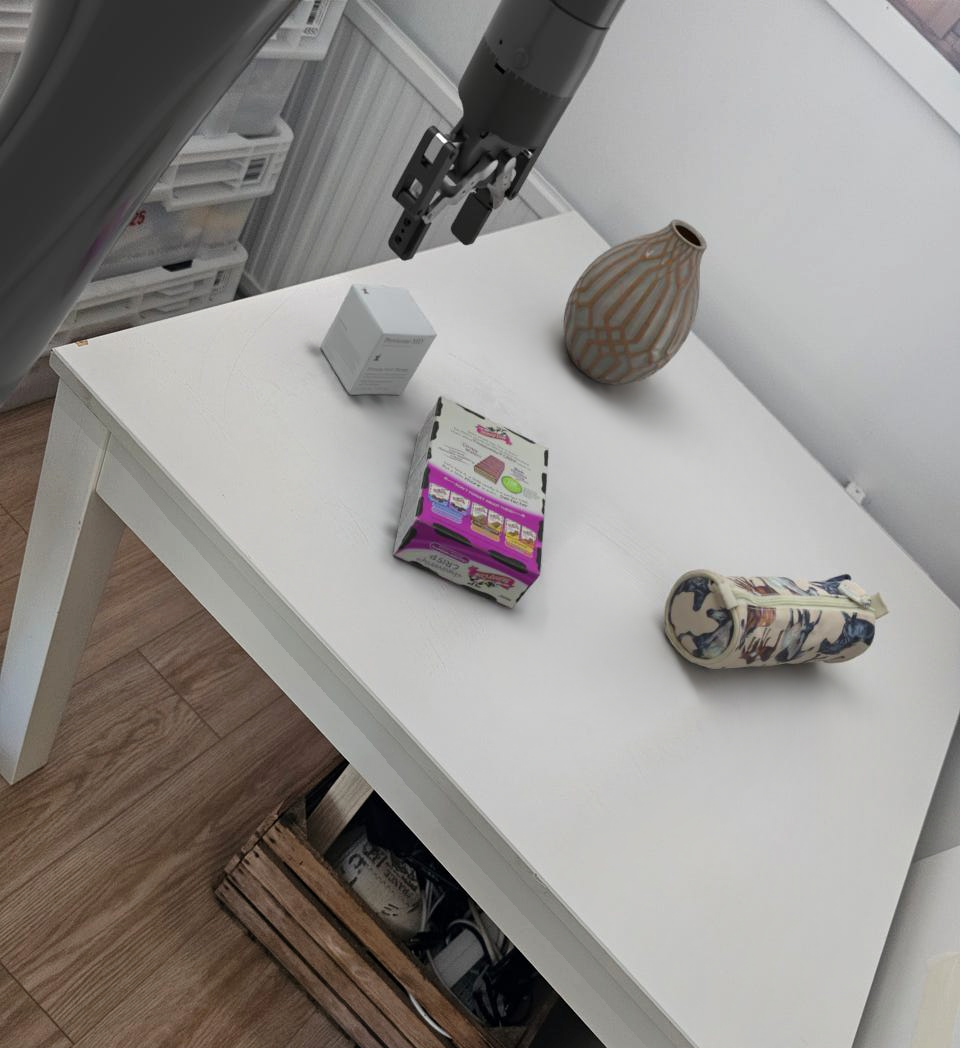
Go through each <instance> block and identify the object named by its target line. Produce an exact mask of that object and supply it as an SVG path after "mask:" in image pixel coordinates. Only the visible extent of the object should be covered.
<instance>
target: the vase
mask: <svg viewBox="0 0 960 1048" xmlns="http://www.w3.org/2000/svg"><path fill="white" fill-rule="evenodd" d="M707 249H708V244H707V241H706V239H705V238H704V236H703V235H702V233H700V231H698V230H697V229H696V228H695V227H694V226H693V225H691V224H689V223H688V222H686V221H684V220H682V219H677V218H675V219H672V220H671V221H670V222H669V223H668V224H667V225H666V226H665V227H663V228H660V229H658V230H657V231H654V232H650V233H647V234H643V235H639V236H637V237H633V238H630V239H627V240H625V241H622V242H620V243H618V244H616V245H614V246H612V247H610V248H609V249H607V250H606V251H604V252H603V253H602V254H600V255H598V256H597V257H596V258H595V259H594V260H593V261H592V262H591V263H590V264H589V265H588V266H587V267H586V269H585V270H584V271H582V274H581V275H580V276H579V277H578V278H577V280H576V282H575V284H574V286H573V287H572V289H571V291H570V293H569V295H568V298H567V302H566V303H565V309H564V313H563V321H562V323H563V327H562V329H563V336H564V341H565V344H566V345H565V346H566V348H567V353H568V356H569V357H570V359H571V361H572V362H573V364H574V365H575V366H576V368H578V369H579V371H581V373H583V374H585V376H587V377H589V378H590V379H592V380H594V381H595V382H599V383H601V384H606V385H627V384H633V383H637V382H639V381H643V380H646V379H647V378H649V377H651V376H653V375H654V374H656V373H658V372H659V371H660V370H662V369H663V368H664V367H665V366H667V365H668V363H670V361H671V360H672V359H673V358H674V357H675V356H676V355H677V354H678V352H679V351H680V349H681V348H682V347H683V345H684V343H685V342H686V340H687V339H688V337H689V334H690V333H691V331H692V328H693V325H694V323H695V320H696V316H697V312H698V308H699V300H700V286H701V263H702V258H703V255H704V253H705V251H706V250H707Z"/></svg>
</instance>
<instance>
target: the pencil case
mask: <svg viewBox="0 0 960 1048" xmlns="http://www.w3.org/2000/svg"><path fill="white" fill-rule="evenodd" d="M666 598H667V599H666V600H665V604H664V611H663V612H664V613H663V626H664V632H665V634H666V636H667V637H668V639H669V641H670V643H671V644H672V645H673V647H674V648H675V649H676V651H678V653H679V654H680V655H681V656H682V657H683V658H684V659H686V660H687V661H688V662H691V663H692V664H695V665H697V666H702V667H705V668H707V669H711V670H721V669H723V670H724V669H739V668H745V667H771V666H778V665H783V664H791V665H792V664H793V665H794V664H806V663H812V662H823V663H824V664H825V663H826V664H840V663H841V664H842V663H845V662H849V661H851V660H854V659H856V658H857V657H859V656H862V655H863V654H864V653H865V652H866V651H868V649H869V648H870V647H871V646H872V644H873V642H874V640H875V637H876V620H879V619H881V618H882V617H885V616H886V615H888V614H890V612H891V611H890V608H889V606H888V605H887V603H886V601H885V599H884V597H883V595H882V593H881V592H880V591H878V592H876V593H875V594H873V595H870V596H869V594H868V593H867V592H866V591H865V590H864V589H863V588H862V587H860V586H859V585H858V584H857V583H856V582H854V581H852V577H851V575H850V574H848V573H845V574H841V575H840V574H839V575H837V576H833V577H830V578H828V579H827V578H826V579H824V580H821V581H820V580H819V581H805V580H800V579H796V578H791V577H783V576H781V577H780V576H723V575H722V574H720V573H718V572H716V571H713V570H710V569H705V568H701V569H700V568H699V569H693V570H690V571H687V572H685V573H683V574H682V575H681V576H680V577H679V578H678V579H676V581H675V583H674V585H672V587H671V589H670V591H669V594H668V596H667V597H666Z"/></svg>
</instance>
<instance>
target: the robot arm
mask: <svg viewBox="0 0 960 1048" xmlns="http://www.w3.org/2000/svg"><path fill="white" fill-rule="evenodd" d="M303 1H304V0H33V4H32V10H31V13H30V14H31V15H30V18H29V23H28V26H27V27H28V29H27V31H26V36H25V40H24V44H23V47H22V49H21V52H20V55H19V58H18V61H17V64H16V67H15V69H14V71H13V73H12V76H11V78H10V80H9V82H8V84H7V87H6V88H5V91H4V93H3V95H2V96H1V99H0V409H2V407H3V406H4V405H5V404H6V403H7V402H8V401H9V399H10V398H11V397H12V395H13V394H14V393H15V392H16V390H17V389H18V388H19V386H20V385H21V384H22V382H23V381H24V380H25V378H26V377H27V376H28V374H29V372H31V370H32V369H33V367H34V365H36V363H37V362H38V360H39V358H40V357H41V355H42V354H43V353H44V351H45V350H46V348H47V347H48V345H50V342H51V341H52V340H53V338H54V337H55V335H56V334H57V332H58V331H59V329H60V328H61V326H62V325H63V324H64V322H65V320H66V319H67V317H68V316H69V315H70V313H71V311H72V310H73V309H74V307H75V306H76V305H77V303H78V301H79V300H80V299H81V297H82V295H83V293H84V292H85V291H86V289H87V288H88V286H89V285H90V284H91V282H92V281H93V279H94V277H95V275H96V274H97V273H98V271H99V270H100V268H101V267H102V265H103V264H104V262H105V261H106V260H107V258H108V257H109V255H110V253H111V252H112V250H113V249H114V248H115V246H116V244H117V242H119V240H120V239H121V237H122V235H123V234H124V232H125V231H126V229H127V228H128V226H129V225H130V223H131V222H132V220H133V219H134V217H135V216H136V214H137V213H138V211H139V210H140V209H141V207H142V206H143V204H144V203H145V201H146V199H147V198H148V196H149V195H150V194H151V192H152V190H154V188H155V187H156V185H157V183H158V182H159V181H160V179H161V178H162V177H163V175H164V174H165V172H166V171H167V170H168V169H169V167H170V166H171V164H172V163H173V162H174V160H175V159H176V158H177V156H178V155H179V154H180V152H181V151H182V150H183V149H184V147H185V146H186V144H188V142H189V141H190V139H191V138H192V137H193V135H194V134H195V133H196V132H197V130H198V129H199V128H200V126H201V125H202V124H203V122H204V121H205V120H206V119H207V117H208V116H209V115H210V114H211V112H212V111H213V110H214V109H215V108H216V106H217V105H218V104H219V103H220V101H221V100H222V99H223V98H224V96H225V95H226V94H227V93H228V91H229V90H230V89H231V87H232V86H233V85H234V84H235V83H236V81H237V80H238V79H239V78H240V76H241V75H242V74H243V73H244V72H245V70H246V69H247V68H248V66H249V65H250V64H251V63H252V62H253V61H254V59H255V58H256V57H257V56H258V54H259V53H260V52H261V50H262V49H263V48H264V47H265V46H266V45H267V43H268V42H269V41H270V40H271V39H272V37H273V36H274V35H275V34H276V33H277V32H278V30H279V29H280V28H281V27H282V26H283V25H284V23H285V22H286V21H287V20H288V18H289V17H290V16H291V15H293V13H294V11H295V10H296V9H297V8H299V6H300V5H301V4H302V2H303ZM626 2H627V0H500V1H499V3H498V6H497V7H496V8H495V11H494V13H493V15H492V17H491V19H490V21H489V23H488V25H487V27H486V28H485V31H484V33H483V35H482V37H481V39H480V41H479V43H478V45H477V47H476V48H475V50H474V52H473V55H472V56H471V59H470V61H469V62H468V65H467V66H466V69H465V70H464V72H463V74H462V76H461V78H460V80H459V83H458V85H457V92H458V97H459V100H460V102H461V106H462V116H461V118H460V119H459V120H458V122H457V123H456V124H455V126H454V127H453V128H452V129H451V130H450V132H449V133H443V132H442V131H441V130H440V129H439V128H438V127H437V126H436V125H434V124H432V125H430V126H429V127H428V128H427V129H426V130H425V132H424V133H423V135H422V136H421V139H420V141H419V143H418V144H417V146H416V148H415V150H414V152H413V153H412V155H411V158H410V159H409V161H408V163H407V164H406V167H405V169H404V170H403V172H402V174H401V176H400V178H399V180H397V183H396V185H395V187H394V189H393V191H392V193H391V197H392V198H393V200H395V201H396V202H397V203H398V204H399V205H400V206H401V207H402V208H403V211H402V213H401V215H400V217H399V218H398V221H397V222H396V224H395V226H394V228H393V230H392V231H391V234H390V236H389V238H388V241H387V244H388V248H389V249H390V250H391V251H392V252H393V253H394V254H395V255H396V256H397V257H398V258H399V259H400V260H402V261H403V262H406V261H410V260H412V259H414V257H415V255H416V254H417V251H418V250H419V248H420V246H421V244H422V242H423V240H424V238H425V237H426V235H427V233H428V232H429V230H430V227H431V226H432V224H433V223H432V221H433V220H434V219H436V217H437V216H438V215H439V214H440V213H441V212H442V211H443V210H444V209H445V208H446V207H447V206H450V205H451V206H456V205H458V204H459V203H460V202H461V201H462V199H463V198H465V196H466V199H465V201H464V202H463V204H462V205H461V207H460V209H459V211H458V212H457V215H456V216H455V218H454V220H453V222H452V223H451V225H450V232H451V234H452V235H454V237H455V238H456V239H457V240H458V241H459V243H461V244H462V245H464V246H469V245H473V244H474V243H475V241H476V239H477V238H478V236H479V234H480V233H481V231H482V229H483V228H484V226H485V225H486V223H487V221H488V219H489V217H490V216H491V214H492V212H493V211H495V210H497V209H499V208H500V207H501V206H502V204H503V202H504V200H505V198H506V199H507V200H508V201H509V202H510V201H513V200H514V199H515V198H517V197H518V194H519V193H520V191H521V189H522V187H523V185H525V182H526V180H527V179H528V177H529V175H530V173H531V172H532V169H533V168H534V166H535V164H536V162H537V161H538V159H539V157H540V155H541V154H542V152H543V150H544V148H545V146H546V144H547V143H548V141H549V139H550V137H551V135H552V134H553V133H554V130H555V129H556V127H557V126H558V124H559V122H560V121H561V118H562V117H563V116H564V113H565V112H566V110H567V108H568V107H569V105H570V103H571V102H572V100H573V98H574V97H575V95H576V93H577V92H578V90H579V88H580V87H581V85H582V83H583V82H584V80H585V78H586V77H587V75H588V73H589V72H590V70H591V68H592V67H593V64H594V63H595V62H596V59H597V57H598V56H599V53H600V50H601V48H602V46H603V44H604V41H605V39H606V37H607V35H608V33H609V31H610V30H611V27H612V25H613V24H614V22H615V21H616V19H617V17H618V16H619V14H620V12H621V10H622V9H623V7H624V6H625V4H626ZM513 170H514V172H515V175H514V176H513V179H512V175H513ZM446 177H448V179H449V180H450V181H451V182H452V183H453V184H454V185H450V184H449V182H447V181H446V180H445V178H446ZM415 180H416V182H415ZM414 182H415V183H414ZM470 191H471V192H470ZM437 192H438V193H439V194H438V195H437V196H436V194H437ZM467 194H468V195H467ZM435 196H436V197H435ZM434 197H435V198H434ZM433 199H434V200H433Z"/></svg>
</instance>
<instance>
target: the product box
mask: <svg viewBox="0 0 960 1048" xmlns="http://www.w3.org/2000/svg"><path fill="white" fill-rule="evenodd" d="M437 336H438V334H437V332H436V330H435V328H434V327H433V325H432V324H431V322H430V321H429V319H428V318H427V317H426V315H425V314H424V312H423V311H422V309H421V307H419V305H418V303H417V302H416V300H415V299H414V297H413V296H412V293H410V292H409V290H408V289H407V288H406V287H393V286H387V285H382V284H376V285H374V284H373V285H371V284H370V285H369V284H361V283H360V284H359V283H352V285H351V286H350V288H349V290H348V292H347V294H346V296H345V297H344V300H343V301H342V303H341V306H340V307H339V309H338V311H337V313H336V315H335V317H334V319H333V321H332V323H331V324H330V327H328V331H327V332H326V334H325V336H324V338H323V340H322V342H321V344H320V348H321V350H322V352H323V354H324V356H325V357H326V359H327V361H328V362H329V364H330V366H331V367H332V369H333V371H334V372H335V373H336V375H337V377H338V379H339V381H340V382H341V384H342V385H343V387H344V389H345V391H346V392H347V393H348V395H350V396H356V395H390V396H391V395H392V396H399V395H402V394H403V393H404V391H405V389H406V388H407V386H408V384H409V383H410V382H411V379H412V378H413V377H414V375H415V372H416V371H417V369H418V368H419V366H420V364H421V362H422V361H423V359H424V358H425V356H426V354H427V353H428V351H429V349H430V348H431V346H432V344H433V342H434V341H435V339H436V338H437Z"/></svg>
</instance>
